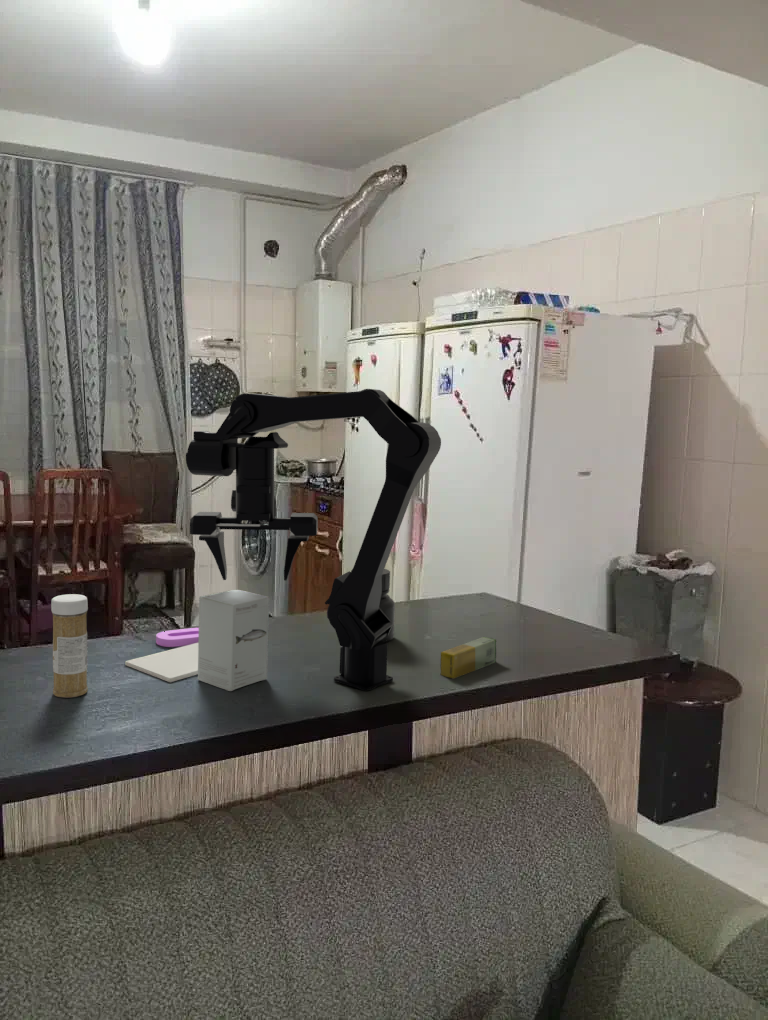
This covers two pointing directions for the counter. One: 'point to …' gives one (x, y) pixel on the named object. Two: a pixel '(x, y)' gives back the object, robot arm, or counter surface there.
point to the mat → (169, 663)
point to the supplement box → (233, 639)
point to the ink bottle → (387, 603)
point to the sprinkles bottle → (69, 645)
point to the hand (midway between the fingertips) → (255, 579)
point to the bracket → (178, 637)
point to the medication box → (468, 657)
